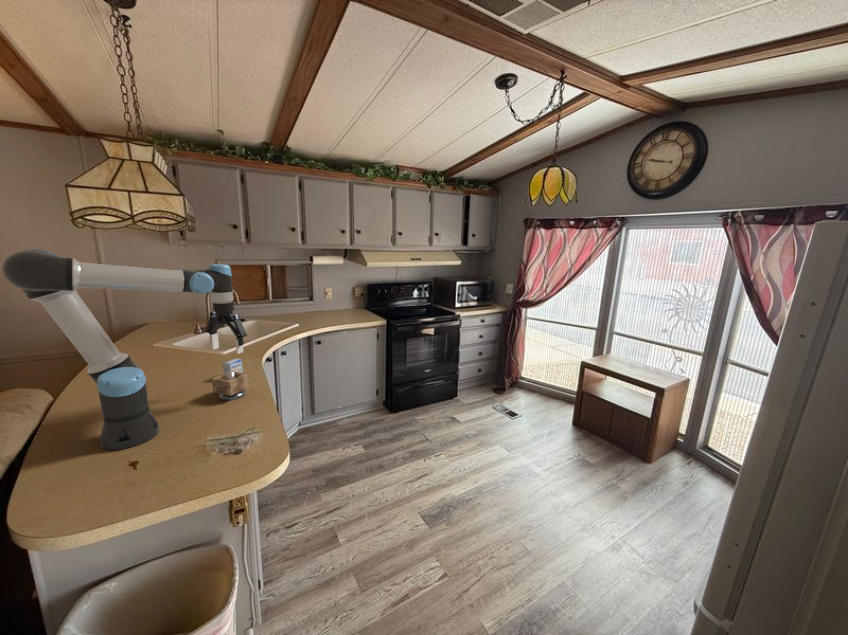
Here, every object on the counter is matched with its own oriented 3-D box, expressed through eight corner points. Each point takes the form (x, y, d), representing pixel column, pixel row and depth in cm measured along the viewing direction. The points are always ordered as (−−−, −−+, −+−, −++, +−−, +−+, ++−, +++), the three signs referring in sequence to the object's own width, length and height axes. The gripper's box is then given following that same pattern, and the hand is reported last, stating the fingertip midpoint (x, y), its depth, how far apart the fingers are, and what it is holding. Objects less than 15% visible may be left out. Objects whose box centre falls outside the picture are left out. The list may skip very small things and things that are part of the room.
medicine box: (231, 380, 162) (230, 363, 160) (223, 379, 163) (222, 363, 161) (243, 374, 170) (241, 358, 168) (235, 374, 171) (234, 358, 169)
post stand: (231, 402, 140) (229, 377, 138) (213, 398, 143) (211, 374, 141) (250, 392, 149) (248, 369, 147) (233, 389, 152) (231, 366, 150)
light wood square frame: (230, 395, 140) (229, 382, 138) (213, 391, 143) (211, 378, 141) (250, 386, 149) (249, 374, 148) (232, 383, 152) (231, 370, 151)
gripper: (254, 303, 137) (257, 351, 142) (209, 298, 145) (213, 345, 149) (238, 305, 130) (243, 357, 135) (192, 300, 138) (197, 349, 142)
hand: (227, 350), depth 142 cm, fingers open, 13 cm apart
